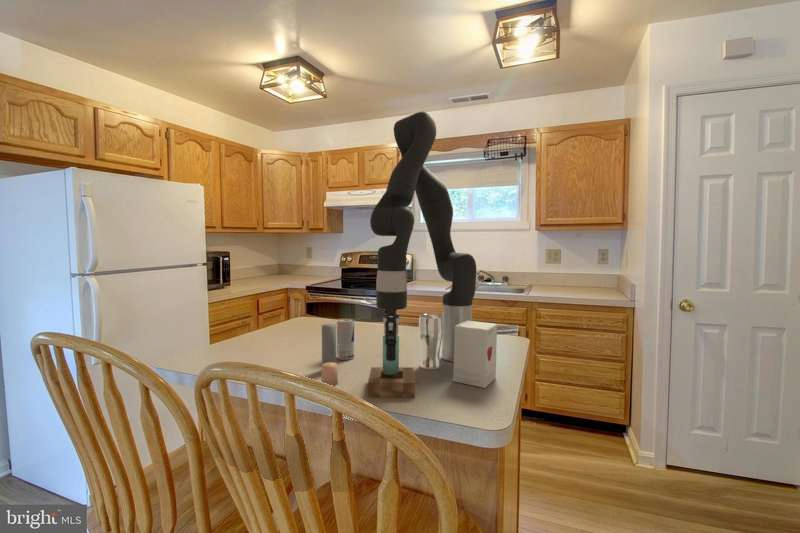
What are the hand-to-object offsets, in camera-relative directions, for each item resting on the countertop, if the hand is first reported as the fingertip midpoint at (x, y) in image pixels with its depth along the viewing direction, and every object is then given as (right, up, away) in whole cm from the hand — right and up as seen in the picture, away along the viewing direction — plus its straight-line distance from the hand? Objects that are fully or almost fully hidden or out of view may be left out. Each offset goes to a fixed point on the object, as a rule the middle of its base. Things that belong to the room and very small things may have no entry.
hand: (391, 357), depth 94 cm
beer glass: (+11, -7, +17) cm, 22 cm away
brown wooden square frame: (0, -8, 0) cm, 8 cm away
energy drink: (-15, -7, +25) cm, 30 cm away
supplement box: (+22, -8, +7) cm, 24 cm away
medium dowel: (0, -4, 0) cm, 4 cm away
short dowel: (-16, -8, +3) cm, 18 cm away
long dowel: (-18, -7, +13) cm, 23 cm away
